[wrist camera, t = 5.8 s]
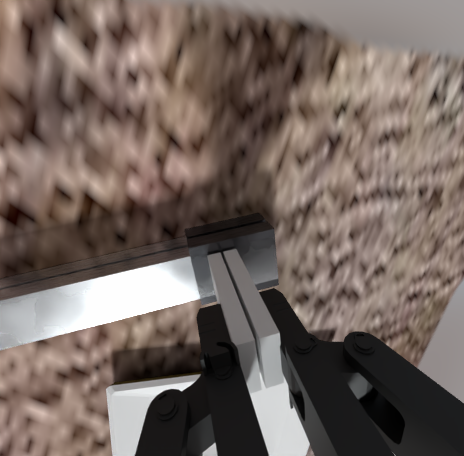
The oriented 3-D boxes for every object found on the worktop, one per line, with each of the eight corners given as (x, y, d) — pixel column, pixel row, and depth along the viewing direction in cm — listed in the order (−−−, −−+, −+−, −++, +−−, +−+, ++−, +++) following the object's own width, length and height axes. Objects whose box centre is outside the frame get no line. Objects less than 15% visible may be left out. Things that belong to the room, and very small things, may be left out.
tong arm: (-182, 390, 15) (-209, 412, 14) (-247, 336, 13) (-284, 356, 12) (272, 274, 18) (278, 285, 17) (267, 221, 17) (273, 228, 16)
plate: (290, 462, 32) (298, 483, 30) (121, 500, 27) (118, 529, 26) (327, 340, 25) (340, 359, 23) (110, 364, 20) (105, 389, 19)
